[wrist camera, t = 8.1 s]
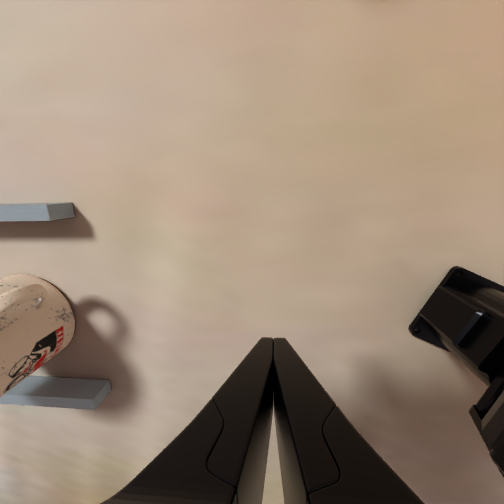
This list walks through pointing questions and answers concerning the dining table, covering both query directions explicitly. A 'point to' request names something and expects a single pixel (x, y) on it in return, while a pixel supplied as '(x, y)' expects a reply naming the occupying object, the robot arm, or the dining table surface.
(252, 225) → the dining table surface
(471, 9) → the dining table surface
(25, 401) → the dock
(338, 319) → the dining table surface
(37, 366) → the teacup with lid
